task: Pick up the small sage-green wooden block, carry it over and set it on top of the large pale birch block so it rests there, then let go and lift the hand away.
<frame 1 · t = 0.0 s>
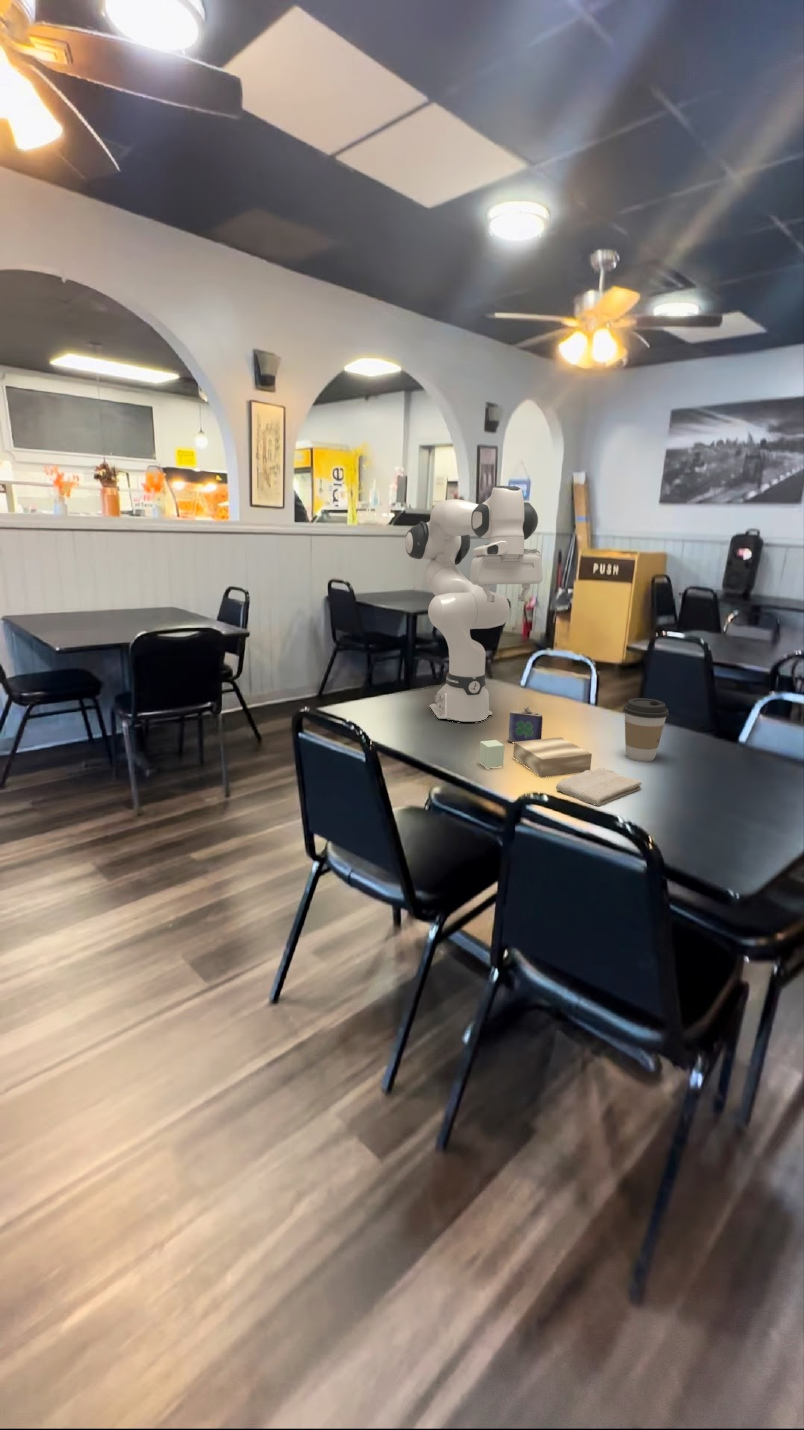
hand: (506, 601, 180), 39 cm above the table, tool pointing down, fingers open, 8 cm apart
sage block: (490, 765, 169), on the table
washcloth: (599, 792, 155), on the table
clover plaque: (524, 744, 187), on the table
birch block: (550, 766, 171), on the table
coffee cup: (640, 757, 177), on the table
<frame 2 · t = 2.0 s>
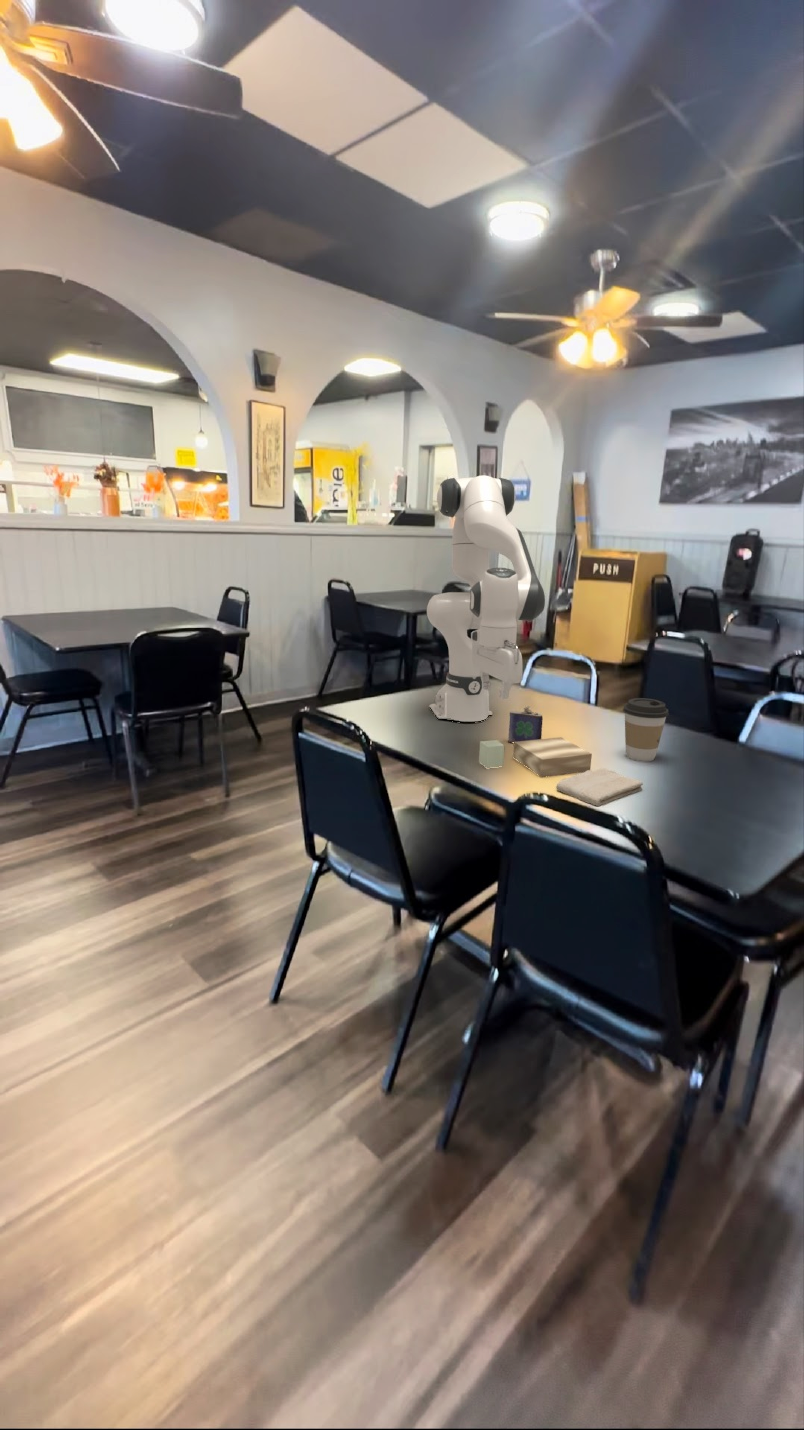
hand: (494, 693, 164), 19 cm above the table, tool pointing down, fingers open, 8 cm apart
nothing on the table moved.
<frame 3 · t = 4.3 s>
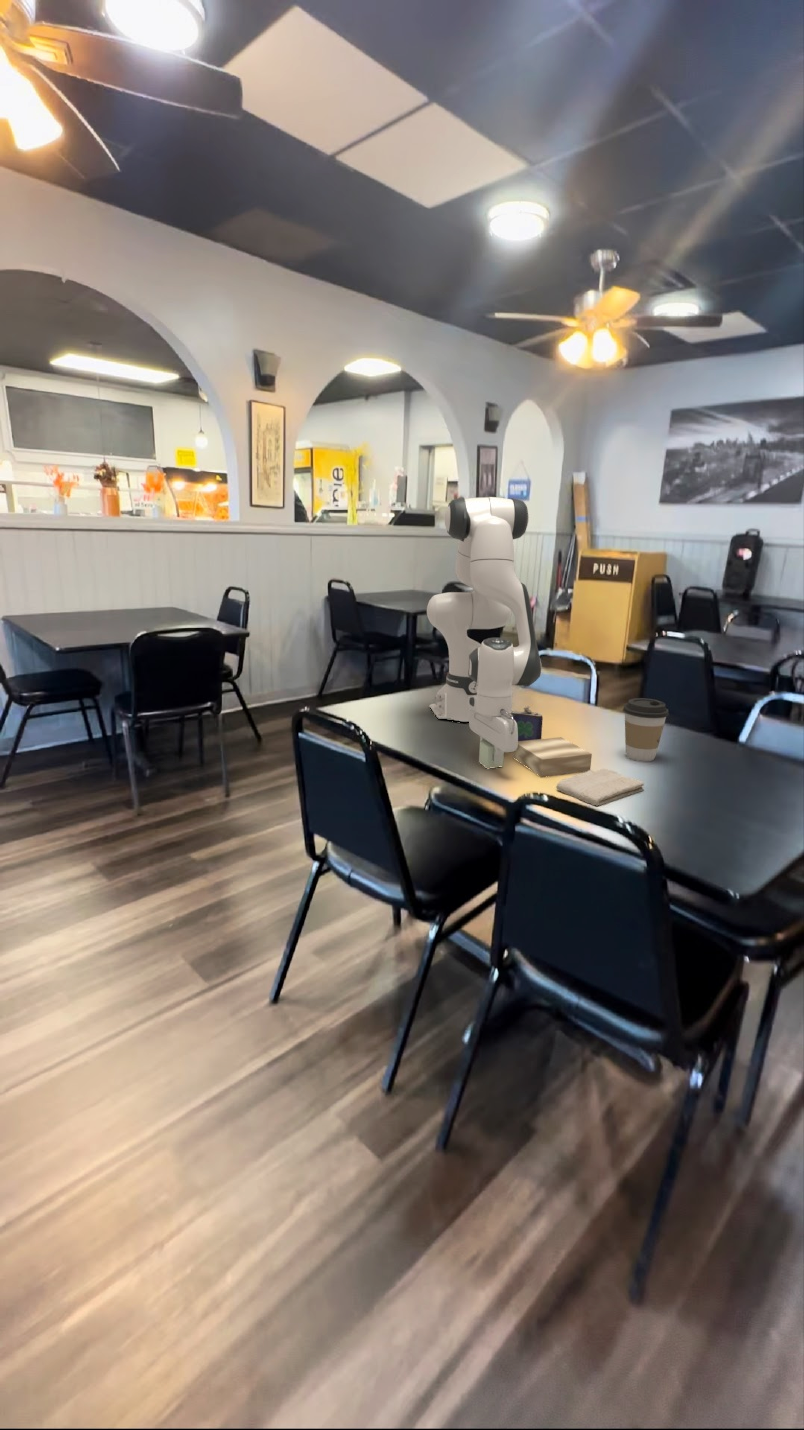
hand: (491, 757, 169), 2 cm above the table, tool pointing down, fingers closed on sage block, 4 cm apart
sage block: (490, 765, 169), on the table, touching gripper
everything else where it was.
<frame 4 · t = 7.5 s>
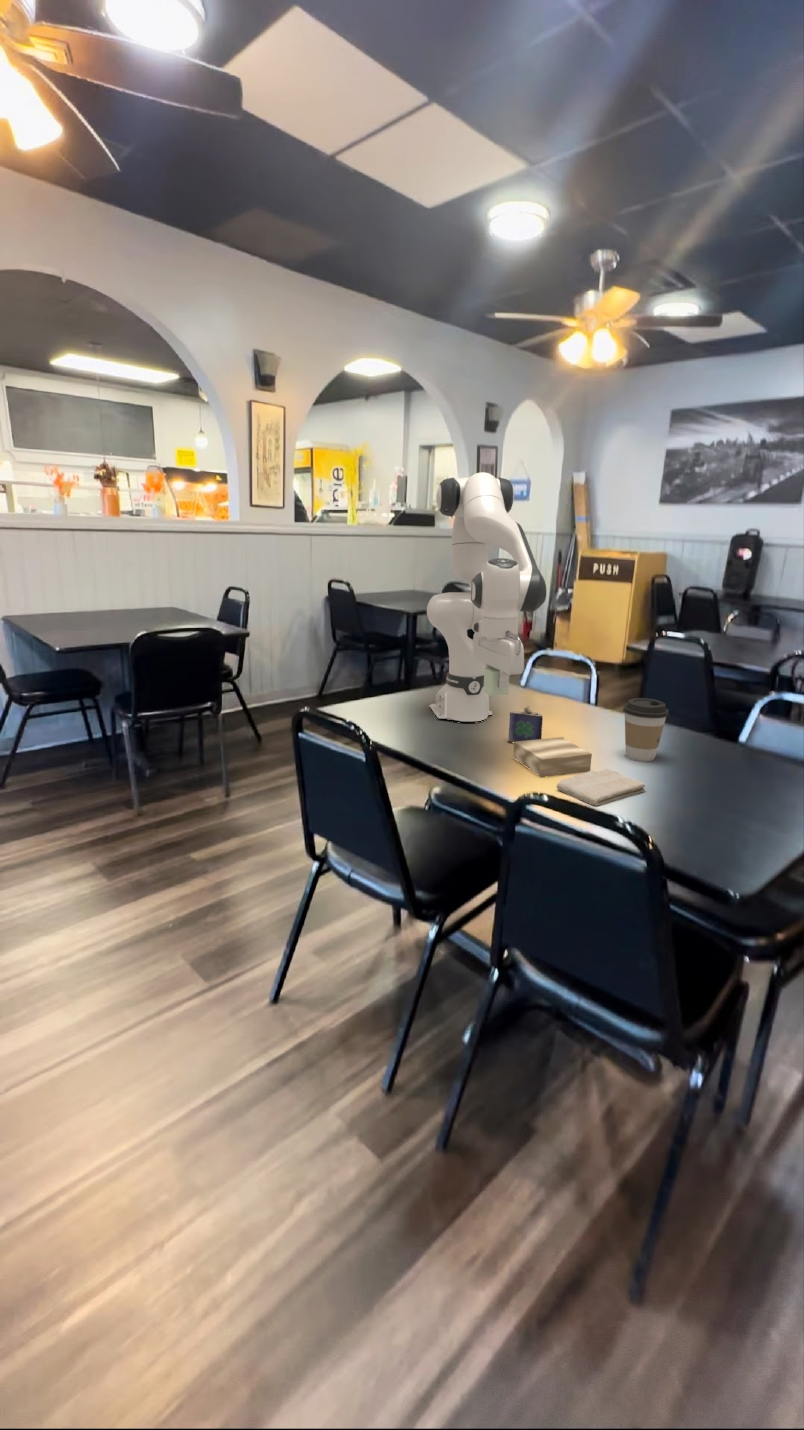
hand: (496, 684, 164), 21 cm above the table, tool pointing down, fingers closed on sage block, 4 cm apart
sage block: (495, 693, 164), point 19 cm above the table, touching gripper
everything else where it was.
when the fingers open (9 cm above the table, at t = 10.8 s): sage block drops 2 cm, resting on birch block.
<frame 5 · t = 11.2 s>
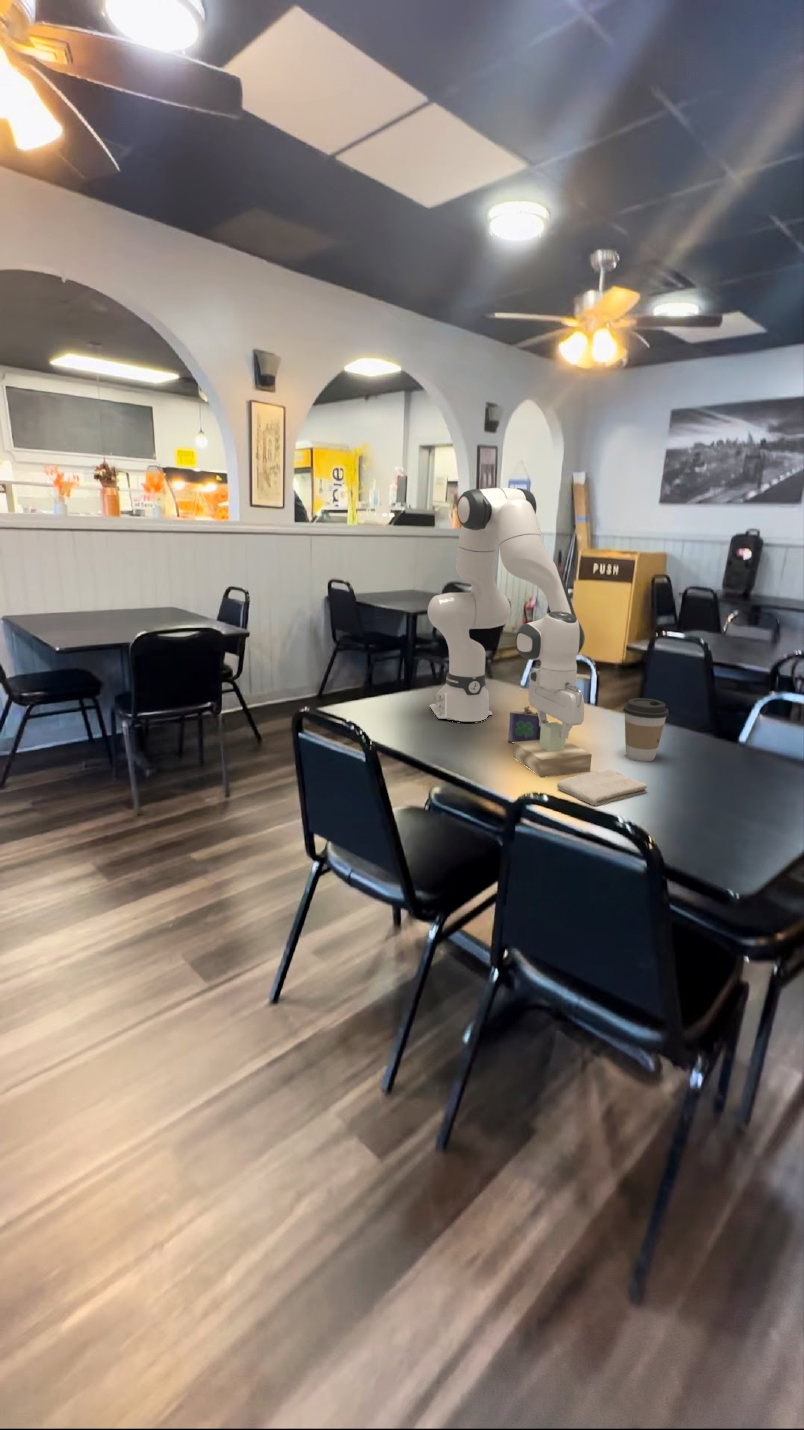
hand: (553, 732, 168), 9 cm above the table, tool pointing down, fingers open, 8 cm apart
sage block: (551, 747, 169), point 5 cm above the table, touching birch block
birch block: (550, 766, 171), on the table, touching sage block
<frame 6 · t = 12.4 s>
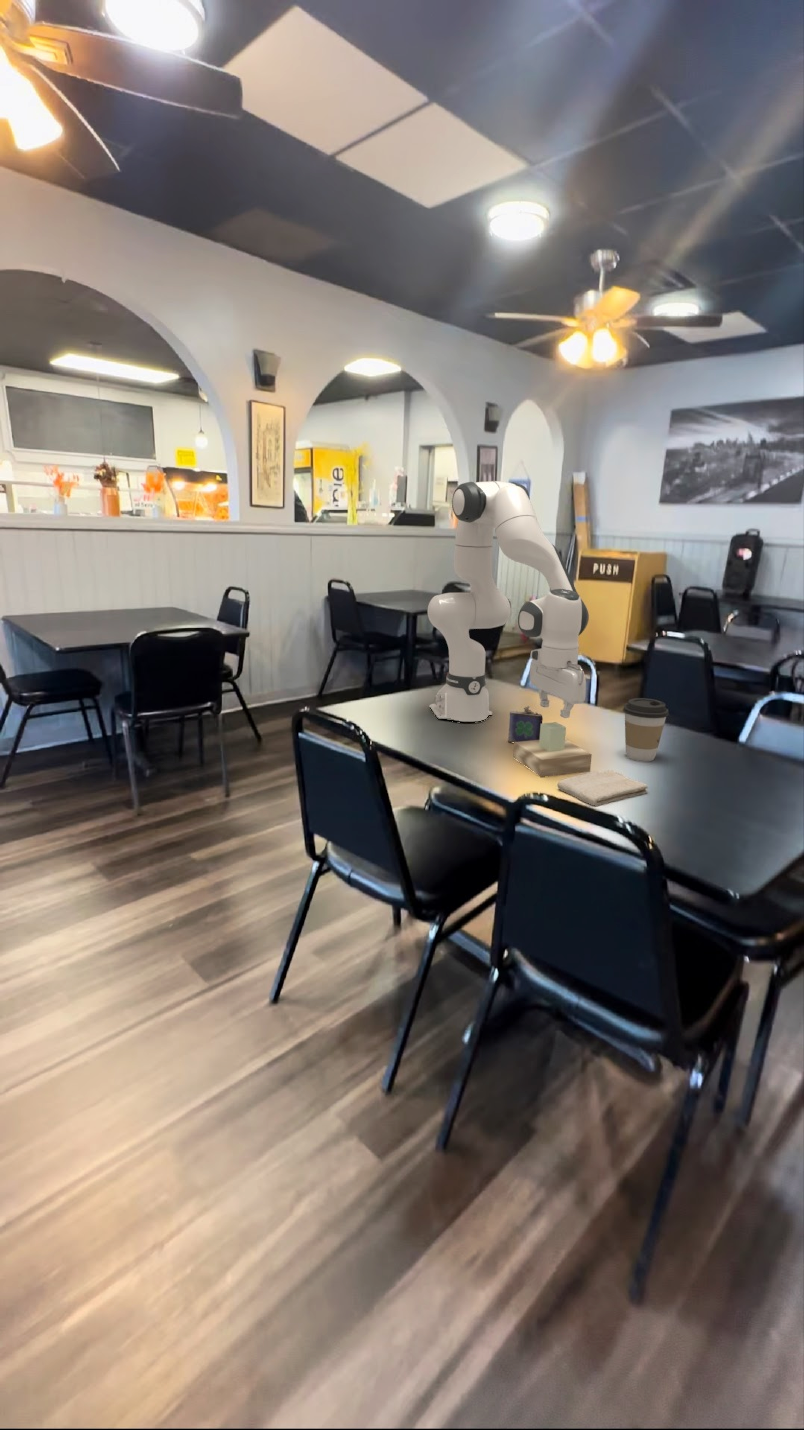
hand: (554, 711, 167), 14 cm above the table, tool pointing down, fingers open, 8 cm apart
nothing on the table moved.
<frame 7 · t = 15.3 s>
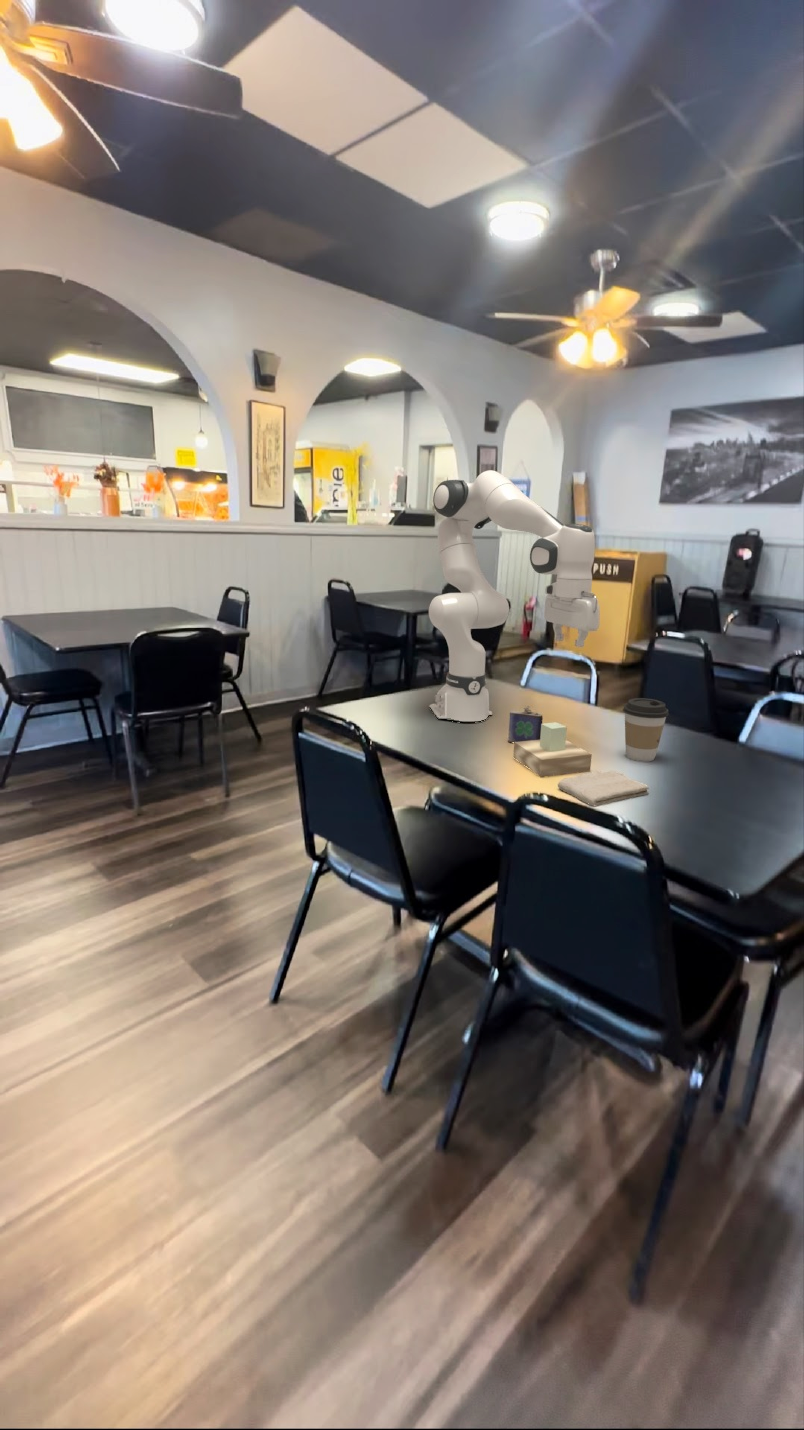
hand: (568, 643, 174), 29 cm above the table, tool pointing down, fingers open, 8 cm apart
at the end: sage block inside the target area on the birch block (0.1 cm from its centre), point 5.0 cm above the birch block's base; sage block touching birch block; the gripper is holding nothing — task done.
